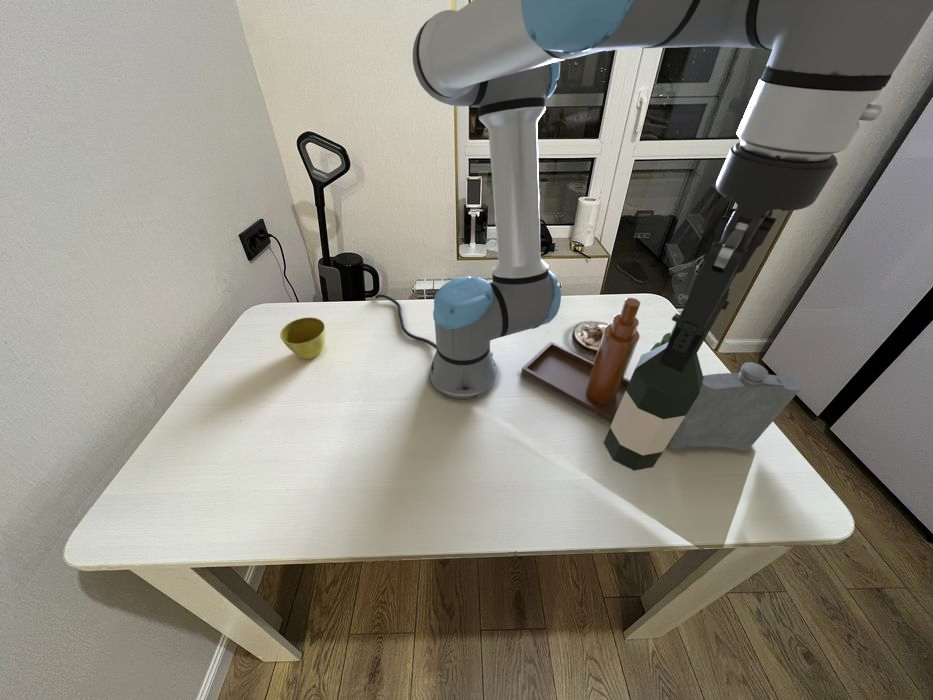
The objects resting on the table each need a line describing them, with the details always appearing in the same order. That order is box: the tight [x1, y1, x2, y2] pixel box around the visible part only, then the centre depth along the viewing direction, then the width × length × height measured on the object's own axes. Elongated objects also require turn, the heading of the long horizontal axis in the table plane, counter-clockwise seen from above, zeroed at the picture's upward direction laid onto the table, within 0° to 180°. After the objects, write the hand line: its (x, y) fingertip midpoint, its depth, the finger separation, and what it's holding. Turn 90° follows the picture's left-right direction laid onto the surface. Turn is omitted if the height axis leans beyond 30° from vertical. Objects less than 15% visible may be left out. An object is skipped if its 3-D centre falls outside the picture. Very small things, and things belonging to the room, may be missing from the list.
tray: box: [520, 341, 630, 425], centre depth 83 cm, size 32×13×2 cm, turn 49°
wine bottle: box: [603, 287, 730, 472], centre depth 49 cm, size 8×8×30 cm
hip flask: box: [667, 361, 802, 451], centre depth 67 cm, size 16×4×20 cm, turn 88°
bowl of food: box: [571, 320, 609, 356], centre depth 95 cm, size 15×15×4 cm
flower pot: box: [279, 316, 327, 360], centre depth 92 cm, size 10×10×7 cm
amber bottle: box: [586, 297, 641, 404], centre depth 75 cm, size 6×6×24 cm
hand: (677, 357), depth 46 cm, fingers closed on wine bottle, 3 cm apart
